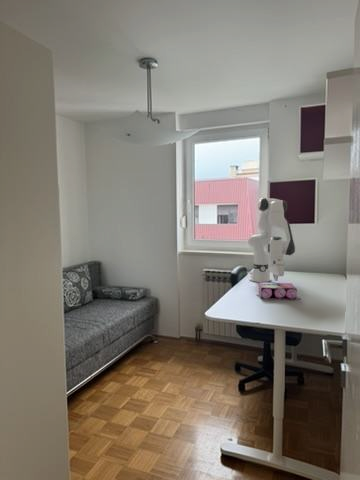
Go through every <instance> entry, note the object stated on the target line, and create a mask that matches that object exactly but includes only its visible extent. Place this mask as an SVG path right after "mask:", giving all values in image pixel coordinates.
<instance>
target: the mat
mask: <svg viewBox="0 0 360 480" xmlns="http://www.w3.org/2000/svg"><path fill="white" fill-rule="evenodd" d="M255 295H256V296H257V297H258V298H259V299H260V300H262V301H283V300H284V301H288V300H289V301H290V300H292V301H293V300H294V301H295V300H301V298H300V297H298V295H297V296H296V297H297V298H296V299H261V297H260V295H259V293H256V294H255Z"/></svg>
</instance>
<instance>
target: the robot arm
mask: <svg viewBox="0 0 360 480" xmlns="http://www.w3.org/2000/svg"><path fill="white" fill-rule="evenodd" d="M257 207H258V210H259V211H260V215H259V219H258V223H257V227H258V229H259V231H260V232H259V233H260V234H253V235H251V236H249V237H248V239H247V243H248V246H249V247H250V248H251V249H252V252H253V261H254V262H253V267H252V269H251V271H250V272H249V275H248V277H247V278H248V281H249V282H257V283H259V282H262V283H269V282H270V281H271V282H272V278H271V274H272V277H273V281H275V282H276V281H277V282H278V281H279V277H284V275H285V265H286V261H285V260H284V258H283V257H284V255H285V256H292V255H294V254H295V252H296V244H295V243H294V242H295V241H294V238H293V233H292V229H291V225H290V222H289V221H288V220H287V219H286V217H285V212H286V211H287V209H288V203H287V201H286V200H284V199H283V200H281V199H278V198H270V197H269V198H268V197H261V198H260V199H259V200H258V204H257ZM272 227H274V228H276V229H280V230H282V231H284V233H285V238H286V240H283V238H282V237H281V236H273V234H272V232H273V231H272ZM265 248H267V252H268V253H269V256H268V253H267V252H266V251H265ZM268 259H269V260H268Z"/></svg>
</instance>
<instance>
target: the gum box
mask: <svg viewBox="0 0 360 480" xmlns="http://www.w3.org/2000/svg"><path fill="white" fill-rule="evenodd" d="M258 294H259V295H260V297H261V299H260V300H262V299H296V298H297V297H298V289H297V288H296V287H295V285H294V284H293V283H288V282H287V283H286V282H258ZM296 296H297V297H296Z"/></svg>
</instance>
